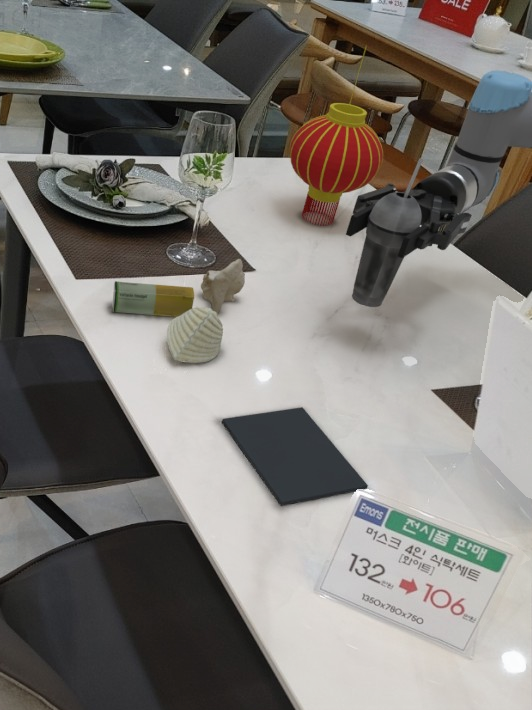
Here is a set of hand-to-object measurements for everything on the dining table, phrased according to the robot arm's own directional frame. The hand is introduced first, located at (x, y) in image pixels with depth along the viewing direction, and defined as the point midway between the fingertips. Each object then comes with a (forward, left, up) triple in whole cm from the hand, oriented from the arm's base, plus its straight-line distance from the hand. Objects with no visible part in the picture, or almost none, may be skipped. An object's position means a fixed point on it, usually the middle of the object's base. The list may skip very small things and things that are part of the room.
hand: (376, 236), depth 103 cm
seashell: (+4, +23, -18) cm, 29 cm away
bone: (+16, +13, -18) cm, 27 cm away
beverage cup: (+2, -4, -11) cm, 12 cm away
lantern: (+43, -22, -18) cm, 52 cm away
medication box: (+15, +25, -18) cm, 34 cm away
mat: (-21, +20, -18) cm, 34 cm away
